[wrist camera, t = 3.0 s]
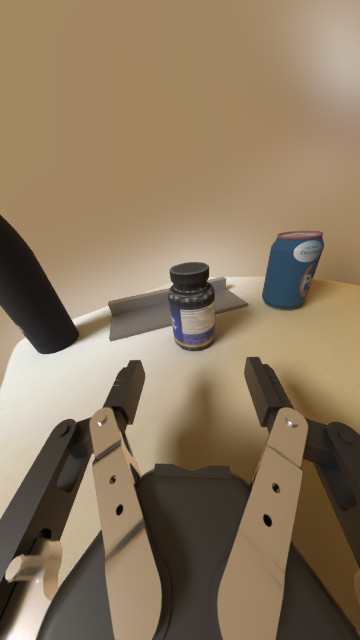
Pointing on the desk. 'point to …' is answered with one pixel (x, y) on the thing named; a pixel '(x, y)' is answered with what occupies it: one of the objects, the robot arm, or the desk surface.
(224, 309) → the price rail shelf
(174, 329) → the pill bottle
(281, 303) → the soda can
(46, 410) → the desk surface
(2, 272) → the black water bottle
